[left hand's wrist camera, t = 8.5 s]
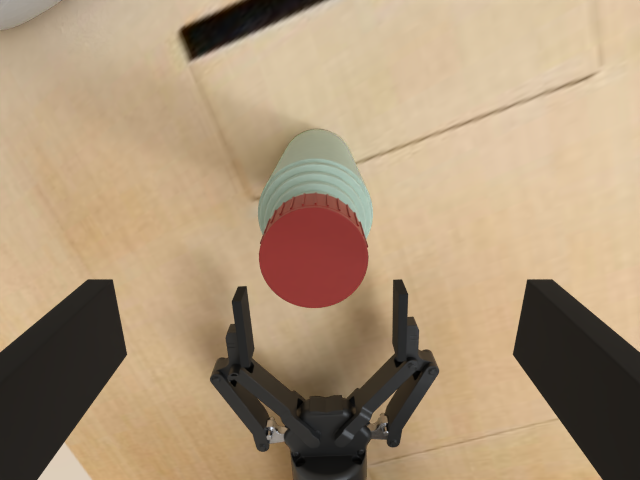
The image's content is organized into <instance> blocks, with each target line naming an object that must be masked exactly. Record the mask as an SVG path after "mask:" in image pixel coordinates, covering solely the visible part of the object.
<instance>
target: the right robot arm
mask: <svg viewBox="0 0 640 480" xmlns="http://www.w3.org/2000/svg"><path fill="white" fill-rule="evenodd" d="M232 306H233V314H234V321H235V324H230V327H229V330H228V332H227V335H226V343H227V350H228V357H229V358H219V359H218V360H217V361H216V364H215V367H214V369H213V372H212V375H211V377H210V381H211V383H212V384H213V385H214V387H215V388H216V389H217V390H218V392H219V393H220V394H221V395H222V397H223V398H224V399H225V400H226V402H227V403H228V404H229V405H230V407H231V408H232V409H233V410H234V412H235V413H236V414H237V415H238V417H239V418H240V419H241V420H242V422H243V423H244V424H245V425H246V427H247V428H248V429H249V430H250V432H251V433H252V434H253V437H254V441H255V444H256V447H257V449H258V450H259V451H261V452H265V451H267V450H268V449H269V444H270V443H278V442H285V443H286V444H287V446H288V447H289V448H290V452H291V462H292V472H293V480H367V478H366V477H367V455H366V447H367V444H368V443H369V441H370V440H371V439H384V440H387V444H388V446H390V447H397V446H398V445H399V443H400V438H401V433H402V429H403V427H404V426H405V424H406V423H407V421H408V419H409V418H410V416H411V415H412V413H413V412H414V410H415V409H416V407H417V406H418V404H419V403H420V401H421V400H422V398H423V397H424V395H425V393H426V392H427V390H428V389H429V387H430V386H431V384H432V383H433V381H434V380H435V378H436V377H437V375H438V373H439V368H438V366H437V364H436V361H435V359H434V356H433V354H432V352H431V351H430V350H423V351H420V350H418V343H419V329H418V327H417V324H416V322H415V319H414V317H407V313H408V293H407V290H406V288H405V286H404V283H403V281H402V280H393V338H392V343H393V347H394V351H395V354H394V355H393V356H392V357H391V358H390V359H389V360H388V361H387V362H386V363H385V364H384V365H383V366H382V367H381V368H380V369H379V370H378V371H377V372H376V373H375V374H374V375H373V376H372V377H371V378H370V379H369V380H368V381H367V382H366V383H365V384H364V385H363V386H362V387H361V388H360V389H358V388H357V389H355V390H354V391H353V393H352V394H351V395H350V396H349V397H348V398H347V399H345V398H342V395H334V396H330V397H320V396H310V399H308V400H305V399H304V398H303V397H302V396H300V395H299V394H298V393H297V392H296V391H290V390H289V389H288V388H287V387H285V386H284V385H283V384H282V383H281V382H279V381H278V380H277V379H276V378H275V377H273V376H272V375H271V374H270V373H269V372H268V371H266V370H265V369H264V368H263V367H262V366H260V365H259V364H258V363H257V362H256V361H255V360H253V359H252V356H253V352H254V343H253V334H252V326H251V318H250V310H249V302H248V294H247V286H242V287H238V288H237V290H236V293H235V295H234V298H233V300H232ZM396 390H397V391H396ZM395 391H396V392H395ZM394 392H395V394H394V396H393V397H392V399H391V400H390V402H389V404H388V406H387V408H386V411H385V413H381V414H380V417H379V418H378V420H377V422H376V423H373V424H370V422H369V421H370V419H371V416H372V413H373V412H374V411H375V410H376V409H377V408H378V407H379V406H380V405H381V404H382V403H383V402H384V401H385V400H387V399H388V398H389V397H390V396H391V395H392V394H393V393H394ZM257 398H258V399H259V400H260V401H262V402H263V403H264V404H265V405H266V406H268V407H269V408H270V409H271V410H273V411H274V412H275V413H276V414H278V415H279V416H280V417H281V420H282V422H283V424H284V425H285V427H281V426H279V425H277V423H276V422H275V421H274V420H275V419H274V417H269V415H268V413H267V411H266V409H265V408H264V407H263V405H262V404H261V403H260V401H259V400H258V399H257Z"/></svg>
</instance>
